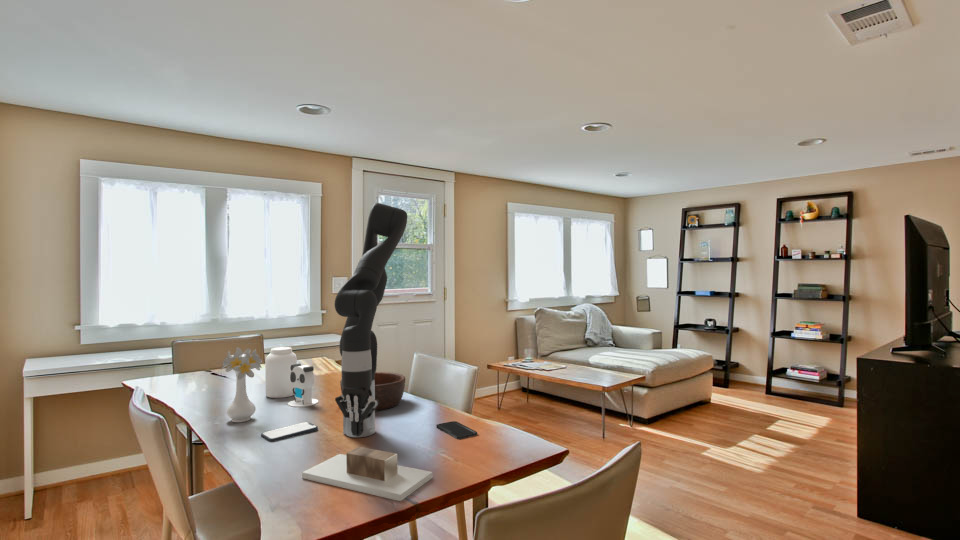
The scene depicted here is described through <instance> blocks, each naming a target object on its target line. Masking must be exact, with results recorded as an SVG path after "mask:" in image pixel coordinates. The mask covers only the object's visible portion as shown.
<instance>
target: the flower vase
mask: <svg viewBox="0 0 960 540" xmlns="http://www.w3.org/2000/svg"><path fill="white" fill-rule="evenodd" d="M251 351H252V349H251V348H246V349H245V350H244V351H243V350H242V349H241V348H240V347H236V348H235V352H234V353H233V354H232V355H231V351H230V350H228V352H227V356H226V357H225V358H224V359H223V362H222V366H221V368H220V371H221V370H223V369H224V368H225V372H226V373H228V372H231V371H232V370H233V371H234V372H235V377H236V380H235V381H236V382H235V383H236V384H235V385H236V389H235V395H234V398H233V401H232V402H231V403H230V405H229V406H228V407H227V409H226V413H225V414H226V416H227V417H228V418H230V419H231V422H232V423H244V422H248V421H250V420H251V419H252V416H253V415H254V414H255V413H256V411H257V409H256V405H255V404H254V402H253V401H251V400H250V399H249V396H248V393H247V385H246V383H247V382H246V381H247V379H246V376H247V377H248V378H251V379H252V378H254V377H255V373H254V372H253V370H254V369H255V370H257V371H261V369H262V365H261V364H262V363H263V362H264V361H263V359H262V358H260V355H259V354H257V348H255V349H254V350H253V351H252V352H251Z"/></svg>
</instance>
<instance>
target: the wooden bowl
mask: <svg viewBox="0 0 960 540" xmlns="http://www.w3.org/2000/svg"><path fill="white" fill-rule="evenodd" d="M339 383H340V391H341V393H342V390H343V388H344V387H342V378H340V381H339ZM405 384H406V376H404V375H403V374H400V373H397V372H388V371H387V372H385V371H377V372H375V400H379V404H378V406H377V407H376V409H375V412H376V411H382V410H387V409H392V408H393V407H396V406H397V405H399V404H400V402H401V401H402V398H403V395H404V391H405V386H406V385H405Z"/></svg>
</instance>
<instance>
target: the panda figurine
mask: <svg viewBox="0 0 960 540" xmlns="http://www.w3.org/2000/svg"><path fill="white" fill-rule="evenodd" d="M290 369H291V371H292V372H291V375H290V380H291V382H292V385H293V387H294V388H293V393H294V394H295V395H294V399H293V400H290V401H289V402H288V403H287V406H288V407H292V408H305V407H311V406H315V405H316V404H318V403H319V400H318V398H317V399H316V398H313V387H314V383H315V376H314V370H315V369H314V366H313V365H310V366H309V365H306V364H305V365H303V364H301V363H297V364H293V365H291V367H290Z"/></svg>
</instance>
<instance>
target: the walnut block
mask: <svg viewBox="0 0 960 540" xmlns="http://www.w3.org/2000/svg"><path fill="white" fill-rule="evenodd" d="M346 455H347V473H350V474H354V475H359V476H364V477H368V478H373V479H377V480H382V481H387V480H388V479H390V478H391V477H393V476H395V475H396V474H398V468H397V465H398V453H395V452H391V451H383V450H379V449H375V448H369V447H363V446H357V447H356V448H354V449H352V450H350V451H347V453H346Z"/></svg>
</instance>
